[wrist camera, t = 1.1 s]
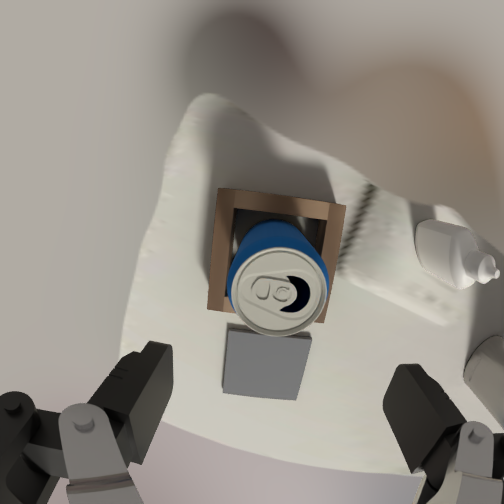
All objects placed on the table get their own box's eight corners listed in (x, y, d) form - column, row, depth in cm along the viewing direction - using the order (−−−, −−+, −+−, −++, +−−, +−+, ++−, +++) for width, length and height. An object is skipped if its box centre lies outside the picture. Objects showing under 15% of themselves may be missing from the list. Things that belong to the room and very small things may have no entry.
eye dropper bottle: (405, 264, 28) (470, 305, 16) (417, 214, 27) (490, 232, 15) (434, 271, 28) (499, 310, 16) (446, 224, 27) (519, 245, 15)
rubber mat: (311, 337, 30) (312, 339, 29) (295, 397, 32) (295, 400, 31) (229, 328, 30) (228, 330, 30) (223, 389, 32) (222, 392, 32)
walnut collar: (336, 203, 27) (346, 205, 23) (317, 308, 29) (323, 323, 26) (223, 188, 27) (218, 188, 24) (213, 295, 29) (207, 309, 26)
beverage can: (299, 287, 29) (319, 348, 17) (236, 276, 29) (217, 333, 17) (311, 224, 27) (345, 250, 16) (246, 213, 28) (232, 230, 16)
